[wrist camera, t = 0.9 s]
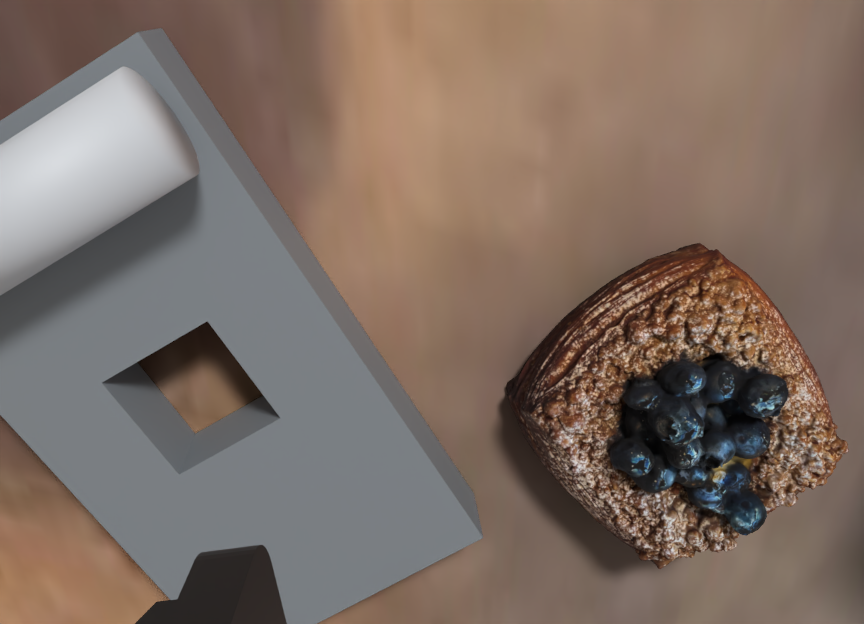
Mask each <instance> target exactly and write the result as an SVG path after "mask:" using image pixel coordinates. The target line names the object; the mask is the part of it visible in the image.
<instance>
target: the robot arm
mask: <svg viewBox="0 0 864 624" xmlns="http://www.w3.org/2000/svg"><path fill="white" fill-rule="evenodd" d="M135 624H287V622H286V618H285V614H284V610H283V606H282V602H281V598H280V594H279V590H278V586H277V582H276V578H275V574H274V570H273V566H272V562H271V558H270V555H269V553H268V551H267V549H266V548H265V546H263V545H255V546H247V547H239V548H231V549H223V550H216V551H208V552H201V553H199V554H198V556H197V557H196V559H195V560H194V563H193V565H192V567H191V569H190V572H189V574H188V576H187V578H186V581H185V583H184V585H183V588H182V590H181V592H180V594H179V597H178V599H176V600H168V601H160V602H156V603H155V604H154V605H153V606H152V607H151V608H150V609H149V610H148V611H147V612H146V613H145V614H144V615H143V616H142V617H141V618H140V619H139V620H138V621H137V622H136V623H135Z"/></svg>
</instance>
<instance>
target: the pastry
mask: <svg viewBox="0 0 864 624" xmlns="http://www.w3.org/2000/svg"><path fill="white" fill-rule="evenodd" d="M506 387H507V391H508V394H507V395H508V399H509V401H510V404H511V407H512V409H513V411H514V413H515V415H516V418H517V420H518V422H519V424H520V427H521V429H522V431H523V434H524V436H525V438H526V440H527V441H528V443H529V445H530V446H531V447H532V448H533V450H534V451H535V453H536V454H537V456H538V457H539V459H540V460H541V462H542V463H543V464H544V465H545V466H546V468H547V469H548V470H549V471H550V473H551V474H552V475H553V476H554V477H555V478H556V480H557V481H558V482H559V483H560V484H561V486H562V487H563V488H564V489H565V490H566V491H567V492H568V493H569V494H570V495H572V496H573V497H574V498H575V499H576V500H577V501H578V502H579V504H580V505H581V506H582V507H583V508H584V509H585V510H587V511H588V512H589V514H590V515H592V516H593V518H594V519H595V520H596V521H597V522H599V523H601V524H602V525H603V526H604V527H605V528H606V529H607V530H608V531H610V532H611V533H612V534H613V535H615V536H616V537H618V538H619V539H620V540H621V541H623V542H624V543H626V544H628V545H629V546H631V547H632V548H634V549H635V551H636V553H638V554H639V558H640V560H644V561H645V560H651V561H652V562H654V564H656V565H657V567H658V568H659V569H661V568H662V567H665V566H666V565H667V564H669V563H670V562H671V561H673V560H675V559H676V558H681V557H683V556H684V557H691V558H692V557H693V556H694V554H695V551H696V550H697V551H698V552H702V551H706V550H707V549H710V551H712V552H713V551H715V552H720V551H722V550H724V551H725V552H727V551H728V550H732V549H734V548H736V547H737V542H736V541H735V540H734V539H735V538H738V537H739V534H738V533H740V534H742V535H748V534H749V533H753V532H754V531H756V530H758V529H759V528H760V527H761V526H762V525H763V523H764V522H765V519H766V517H767V515H768V514H769V512H772V511H773V510H775V509H776V507H779V506H782V505H783V506H787V507H789V506H793V505H794V504H795V502H796V501H797V500H798V497H797V496H796V494H798V493H799V492H804V491H805V487H809V488H811V489H815V487H816V486H818V485H819V486H823V485H824V484H826V483H827V478H828V477H829V476H830V475H831V474H832V473H833V470H834V469H835V468H836V462H838V461H839V460H840V459H841V457H842V454H845V453H847V452H848V448H847V446H848V444H847V442H846V441H844V440H841V439H840V438H839V437H838V436H837V434H836V432H835V430H836V429H837V428H838V427H837V425H835V424H834V423H833V421H832V417H831V412H830V409H829V406H828V401H827V399H826V397H825V395H824V390H823V388H822V385H821V383H820V380H819V378H818V375H817V373H816V371H815V369H814V367H813V365H812V364H811V362H810V360H809V358H808V356H807V355H806V353H805V351H804V349H803V348H802V346H801V344H800V342H799V341H798V339H797V338H796V336H795V335H794V333H793V332H792V330H791V329H790V327H789V326H788V324H787V322H786V321H785V319H784V318H783V316H782V314H781V313H780V311H779V310H778V308H777V307H776V306H775V305H774V304H773V302H772V301H771V300H770V298H769V297H768V296H767V295H766V293H765V292H764V291H763V290H762V289H761V288H760V287H759V285H758V284H757V283H755V282H754V280H753V279H752V278H751V277H750V276H749V275H748V274H747V273H746V272H744V271H743V270H742V269H740V268H739V267H738V266H736V265H735V264H733V263H732V262H730V261H729V260H728V259H726V258H725V256H724V255H722V254H721V253H720V252H719V250H717V249H716V250H714V251H713V250H708V248H706V247H705V246H703V245H702V244H700V243H697V244H692V245H689V246H685V247H682V248H679V249H678V250H676V251H672V252H670V253H667V254H664V255H661V256H657V257H654V258H651V259H648V260H646V261H645V262H644V263H642V264H640V265H638V266H636V267H634V268H632V269H630V270H628V271H627V272H625V273H623V274H622V275H620V276H618V277H617V278H615V279H614V280H612V281H610V282H609V283H607V284H606V285H604V286H603V287H602V288H600V289H599V290H598V291H596V292H595V293H594V294H593V295H591V296H590V297H589V298H587V299H586V300H585V301H583V302H582V303H580V304H579V305H578V306H577V307H576V308H575V309H573V310H572V311H571V312H570V313H569V314H568V315H566V316H565V317H564V318H563V319H562V320H561V322H560V323H559V324H558V325H557V326H556V327H555V328H554V329H553V330H552V331H551V332H550V334H549V335H548V336H547V337H546V338H545V339H544V340H543V342H542V343H541V344H540V345H539V346H538V347H537V348H536V350H535V351H534V352H533V353H532V355H531V356H530V358H529V359H528V360H527V362H526V364H525V366H524V367H523V369H522V371H521V373H520V374H519V375H518V376H516V377H515V378H513V379H512V380H510V381H509V382H508V383H507V386H506Z"/></svg>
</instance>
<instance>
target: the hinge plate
mask: <svg viewBox="0 0 864 624" xmlns="http://www.w3.org/2000/svg"><path fill="white" fill-rule="evenodd" d="M207 321H208V323H209V324H210V325H211V327H212V328H213V329H214V331H215V332H216V333H217V335H218V336H219V337H220V339H221V340H222V341H223V343H224V344H225V345H226V347H227V348H228V349H229V351H230V352H231V353H232V355H233V356H234V357H235V358H236V360H237V361H238V362H239V364H240V365H241V366H242V368H243V369H244V370H245V372H246V373H247V374H248V376H249V377H250V378H251V380H252V381H253V382H254V384H255V385H256V386H257V388H258V389H259V390H260V392H261V393H262V394H263V396H261V397H260V398H258V399H256V400H254V401H253V402H251V403H249V404H247V405H245V406H244V407H242V408H240V409H238V410H237V411H235V412H233V413H231V414H229V415H228V416H226V417H224V418H222V419H221V420H219V421H217V422H215V423H213V424H212V425H210V426H208V427H206V428H205V429H203V430H201V431H199V432H197V433H196V434H195V433H194V432H193V430H192V429H191V428H190V427H189V426H188V424H187V423H186V422H185V421H184V419H183V418H182V417H181V416H180V414H179V413H178V412H177V411H176V410H175V408H174V407H173V406H172V405H171V403H170V402H169V401H168V400H167V398H166V397H165V396H164V395H163V394H162V392H161V391H160V390H159V389H158V387H157V386H156V385H155V384H154V382H153V381H152V380H151V379H150V378H149V376H148V375H147V374H146V373H145V371H144V370H143V369H142V368H141V366H140V365H139V364H138V363H137V362H138V361H140V360H142V359H143V358H145V357H147V356H149V355H150V354H152V353H154V352H155V351H157V350H159V349H161V348H162V347H164V346H166V345H167V344H169V343H171V342H173V341H174V340H176V339H178V338H179V337H181V336H183V335H185V334H186V333H188V332H190V331H191V330H193V329H195V328H197V327H198V326H200V325H202V324H203V323H205V322H207ZM0 415H1V416H2V417H3V418H4V419H5V420H6V422H7V423H8V424H9V425H10V426H11V427H12V428H13V429H14V430H15V431H16V432H17V433H18V435H19V436H20V437H21V438H22V439H23V440H24V441H25V442H26V443H27V444H28V445H29V447H30V448H31V449H32V450H33V451H34V452H35V453H36V454H37V455H38V456H39V457H40V458H41V460H42V461H43V462H44V463H45V464H46V465H47V466H48V467H49V468H50V469H51V470H52V472H53V473H54V474H55V475H56V476H57V477H58V478H59V479H60V480H61V481H62V482H63V484H64V485H65V486H66V487H67V488H68V489H69V490H70V491H71V492H72V493H73V494H74V495H75V497H76V498H77V499H78V500H79V501H80V502H81V503H82V504H83V505H84V506H85V507H86V509H87V510H88V511H89V512H90V513H91V514H92V515H93V516H94V517H95V518H96V519H97V521H98V522H99V523H100V524H101V525H102V526H103V527H104V528H105V529H106V530H107V531H108V532H109V534H110V535H111V536H112V537H113V538H114V539H115V540H116V541H117V542H118V543H119V544H120V546H121V547H122V548H123V549H124V550H125V551H126V552H127V553H128V554H129V555H130V556H131V558H132V559H133V560H134V561H135V562H136V563H137V564H138V565H139V566H140V567H141V568H142V569H143V571H144V572H145V573H146V574H147V575H148V576H149V577H150V578H151V579H152V580H153V581H154V583H155V584H156V585H157V586H158V587H159V588H160V589H161V590H162V591H163V592H164V593H165V594H166V596H167V597H168V598H169V599H170V600H176V599H178V597H179V594H180V592H181V590H182V588H183V585H184V583H185V581H186V578H187V576H188V574H189V572H190V569H191V567H192V565H193V563H194V560H195V559H196V557H197V556H198V554H199V553H201V552H208V551H216V550H223V549H231V548H239V547H247V546H255V545H263V546H265V548H266V549H267V551H268V553H269V555H270V558H271V562H272V566H273V570H274V574H275V578H276V582H277V586H278V590H279V594H280V598H281V602H282V606H283V610H284V614H285V618H286V622H287V624H317V623H319V622H321V621H323V620H325V619H327V618H329V617H330V616H332V615H334V614H336V613H338V612H340V611H342V610H344V609H346V608H348V607H350V606H352V605H354V604H356V603H358V602H360V601H361V600H363V599H365V598H367V597H369V596H371V595H373V594H375V593H377V592H379V591H381V590H383V589H385V588H387V587H389V586H391V585H393V584H394V583H396V582H398V581H400V580H402V579H404V578H406V577H408V576H410V575H412V574H414V573H416V572H418V571H420V570H422V569H424V568H425V567H427V566H429V565H431V564H433V563H435V562H437V561H439V560H441V559H443V558H445V557H447V556H449V555H451V554H453V553H455V552H457V551H458V550H460V549H462V548H464V547H466V546H468V545H470V544H472V543H474V542H476V541H478V540H480V539H482V538H483V534H482V530H481V525H480V520H479V515H478V510H477V506H476V501H475V496H474V493H473V492H472V490H471V489H470V487H469V486H468V484H467V483H466V481H465V480H464V478H463V477H462V475H461V474H460V472H459V471H458V469H457V468H456V466H455V465H454V463H453V462H452V460H451V459H450V457H449V456H448V454H447V453H446V452H445V450H444V449H443V447H442V446H441V444H440V443H439V441H438V440H437V438H436V437H435V435H434V434H433V432H432V431H431V429H430V428H429V426H428V425H427V423H426V422H425V420H424V419H423V417H422V416H421V414H420V413H419V411H418V410H417V408H416V407H415V405H414V404H413V402H412V401H411V399H410V398H409V396H408V395H407V393H406V392H405V390H404V389H403V387H402V386H401V384H400V383H399V381H398V380H397V378H396V377H395V375H394V374H393V372H392V371H391V369H390V368H389V366H388V365H387V363H386V362H385V361H384V359H383V358H382V356H381V355H380V353H379V352H378V350H377V349H376V347H375V346H374V344H373V343H372V341H371V340H370V338H369V337H368V335H367V334H366V332H365V331H364V329H363V328H362V326H361V325H360V323H359V322H358V320H357V319H356V317H355V316H354V314H353V313H352V311H351V310H350V308H349V307H348V305H347V304H346V302H345V301H344V299H343V298H342V296H341V295H340V293H339V292H338V290H337V289H336V287H335V286H334V284H333V283H332V281H331V280H330V278H329V277H328V275H327V274H326V272H325V271H324V270H323V268H322V267H321V265H320V264H319V262H318V261H317V259H316V258H315V256H314V255H313V253H312V252H311V250H310V249H309V247H308V246H307V244H306V243H305V241H304V240H303V238H302V237H301V235H300V234H299V232H298V231H297V229H296V228H295V226H294V225H293V223H292V222H291V220H290V219H289V217H288V216H287V214H286V213H285V211H284V210H283V208H282V207H281V205H280V204H279V202H278V201H277V199H276V198H275V196H274V195H273V193H272V192H271V190H270V189H269V187H268V186H267V184H266V183H265V181H264V180H263V179H262V177H261V176H260V174H259V173H258V171H257V170H256V168H255V167H254V165H253V164H252V162H251V161H250V159H249V158H248V156H247V155H246V153H245V152H244V150H243V149H242V147H241V146H240V144H239V143H238V141H237V140H236V138H235V137H234V135H233V134H232V132H231V131H230V129H229V128H228V126H227V125H226V123H225V122H224V120H223V119H222V117H221V116H220V114H219V113H218V111H217V110H216V108H215V107H214V105H213V104H212V102H211V101H210V99H209V98H208V96H207V95H206V93H205V92H204V90H203V89H202V88H201V86H200V85H199V83H198V82H197V80H196V79H195V77H194V76H193V74H192V73H191V71H190V70H189V68H188V67H187V65H186V64H185V62H184V61H183V59H182V58H181V56H180V55H179V53H178V52H177V50H176V49H175V47H174V46H173V44H172V43H171V41H170V40H169V38H168V37H167V35H166V34H165V32H164V31H163V29H162V28H160V29H154V30H148V31H142V32H137V33H136V34H134V35H133V36H131V37H130V38H128V39H126V40H125V41H123V42H122V43H120V44H119V45H117V46H116V47H114V48H112V49H111V50H109V51H108V52H106V53H105V54H103V55H102V56H100V57H99V58H97V59H95V60H94V61H92V62H91V63H89V64H88V65H86V66H85V67H83V68H82V69H80V70H78V71H77V72H75V73H74V74H72V75H71V76H69V77H68V78H66V79H64V80H63V81H61V82H60V83H58V84H57V85H55V86H54V87H52V88H51V89H49V90H47V91H46V92H44V93H43V94H41V95H40V96H38V97H37V98H35V99H34V100H32V101H30V102H29V103H27V104H26V105H24V106H23V107H21V108H20V109H18V110H16V111H15V112H13V113H12V114H10V115H9V116H7V117H6V118H4V119H3V120H1V121H0Z"/></svg>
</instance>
